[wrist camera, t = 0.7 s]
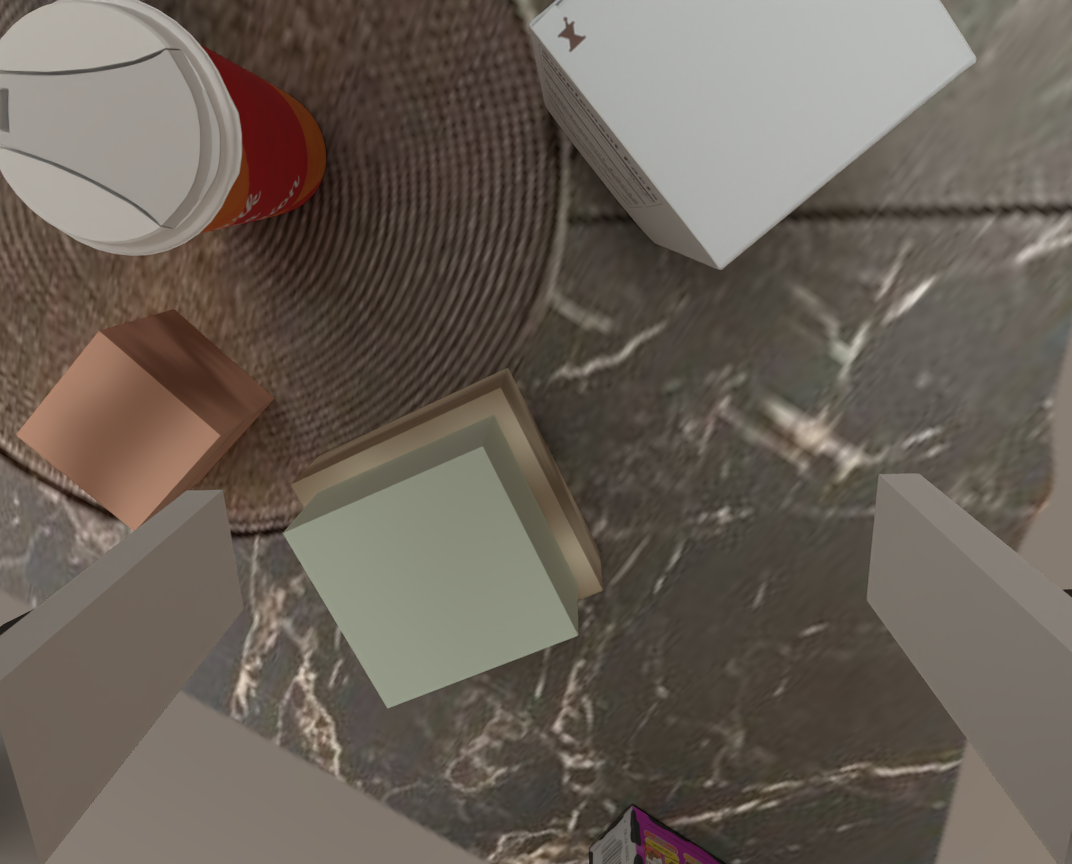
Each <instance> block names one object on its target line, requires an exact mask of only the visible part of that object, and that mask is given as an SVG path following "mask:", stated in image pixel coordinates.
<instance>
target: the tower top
mask: <svg viewBox="0 0 1072 864" xmlns="http://www.w3.org/2000/svg"><path fill="white" fill-rule="evenodd" d="M283 534H284V536H285V538H286V539H287V541H288V543H289V544H290V546H291V548H292V549H293V551H294V553H295V554H296V556H297V558H298V559H299V561H300V563H301V564H302V566H303V568H304V570H305V571H306V573H307V575H308V576H309V578H310V580H311V581H312V583H313V585H314V586H315V588H316V590H317V591H318V593H319V595H320V596H321V598H322V600H323V601H324V603H325V605H326V606H327V608H328V610H329V611H330V613H331V615H332V616H333V618H334V620H335V621H336V623H337V625H338V626H339V628H340V630H341V631H342V633H343V635H344V636H345V638H346V640H347V641H348V643H349V645H350V646H351V648H352V650H353V651H354V653H355V655H356V656H357V658H358V660H359V661H360V663H361V665H362V667H363V668H364V670H365V672H366V673H367V675H368V677H369V678H370V680H371V682H372V683H373V685H374V687H375V688H376V690H377V692H378V693H379V695H380V697H381V698H382V700H383V702H384V703H385V705H386V707H387V708H390V707H393V706H395V705H398V704H400V703H403V702H406V701H408V700H411V699H413V698H416V697H419V696H421V695H424V694H427V693H429V692H432V691H434V690H437V689H440V688H442V687H445V686H448V685H450V684H453V683H455V682H458V681H461V680H463V679H466V678H468V677H471V676H474V675H476V674H479V673H482V672H484V671H487V670H489V669H492V668H495V667H497V666H500V665H503V664H505V663H508V662H510V661H513V660H516V659H518V658H521V657H523V656H526V655H529V654H531V653H534V652H537V651H539V650H542V649H544V648H547V647H550V646H552V645H555V644H558V643H560V642H563V641H565V640H568V639H571V638H573V637H576V636H578V585H577V581H576V579H575V577H574V575H573V573H572V571H571V569H570V567H569V565H568V563H567V561H566V559H565V557H564V555H563V553H562V551H561V549H560V547H559V545H558V543H557V541H556V539H555V537H554V535H553V533H552V531H551V529H550V527H549V525H548V523H547V521H546V519H545V517H544V515H543V513H542V511H541V509H540V507H539V505H538V503H537V501H536V499H535V497H534V494H533V492H532V490H531V488H530V486H529V484H528V482H527V480H526V478H525V476H524V474H523V472H522V470H521V468H520V466H519V464H518V462H517V460H516V458H515V456H514V454H513V452H512V450H511V448H510V446H509V444H508V442H507V440H506V438H505V436H504V434H503V432H502V430H501V428H500V426H499V424H498V422H497V420H496V418H495V416H494V415H492V416H490V417H487V418H485V419H483V420H481V421H478V422H476V423H474V424H472V425H469V426H467V427H465V428H463V429H460V430H458V431H456V432H453V433H451V434H449V435H447V436H444V437H442V438H440V439H438V440H435V441H433V442H431V443H429V444H426V445H424V446H422V447H419V448H417V449H415V450H413V451H410V452H408V453H406V454H404V455H401V456H399V457H397V458H394V459H392V460H390V461H388V462H385V463H383V464H381V465H379V466H376V467H374V468H372V469H370V470H367V471H365V472H363V473H360V474H358V475H356V476H354V477H351V478H349V479H347V480H345V481H342V482H340V483H338V484H335V485H333V486H331V487H329V488H326V489H324V490H322V491H320V492H318V493H317V494H316V495H315V496H314V497H313V499H312V500H311V501H310V502H309V503H308V504H307V506H306V507H305V508H304V509H303V510H302V511H301V513H300V514H299V515H298V516H297V517H296V518H295V520H294V521H293V522H292V523H291V524H290V525H289V526H288V528H287V529H286V530H285V531H284V532H283Z"/></svg>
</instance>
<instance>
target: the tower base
mask: <svg viewBox="0 0 1072 864" xmlns="http://www.w3.org/2000/svg"><path fill="white" fill-rule="evenodd" d="M492 415H494V416H495V418H496V420H497V422H498V424H499V426H500V428H501V430H502V432H503V434H504V436H505V438H506V440H507V442H508V444H509V446H510V448H511V450H512V452H513V454H514V456H515V458H516V460H517V462H518V464H519V466H520V468H521V470H522V472H523V474H524V476H525V478H526V480H527V482H528V484H529V486H530V488H531V490H532V492H533V494H534V497H535V499H536V501H537V503H538V505H539V507H540V509H541V511H542V513H543V515H544V517H545V519H546V521H547V523H548V525H549V527H550V529H551V531H552V533H553V535H554V537H555V539H556V541H557V543H558V545H559V547H560V549H561V551H562V553H563V555H564V557H565V559H566V561H567V563H568V565H569V567H570V569H571V571H572V573H573V575H574V577H575V579H576V581H577V585H578V600H580V599H583V598H585V597H588V596H590V595H593V594H595V593H598V592H600V591H603V584H602V572H601V559H600V551H599V549H598V547H597V545H596V543H595V541H594V539H593V537H592V535H591V533H590V531H589V529H588V527H587V525H586V523H585V521H584V519H583V517H582V515H581V513H580V511H579V509H578V507H577V505H576V503H575V501H574V499H573V497H572V495H571V493H570V491H569V489H568V487H567V485H566V483H565V481H564V479H563V477H562V475H561V473H560V471H559V469H558V467H557V465H556V463H555V461H554V459H553V457H552V455H551V453H550V451H549V449H548V447H547V445H546V443H545V441H544V439H543V437H542V435H541V433H540V431H539V429H538V427H537V425H536V423H535V421H534V419H533V417H532V414H531V412H530V410H529V408H528V406H527V404H526V402H525V400H524V398H523V396H522V394H521V392H520V390H519V388H518V386H517V384H516V382H515V380H514V378H513V376H512V374H511V372H510V370H509V368H506V369H504V370H502V371H500V372H497V373H495V374H493V375H491V376H489V377H487V378H485V379H482V380H480V381H478V382H476V383H474V384H472V385H470V386H467V387H465V388H463V389H461V390H459V391H457V392H455V393H452V394H450V395H448V396H446V397H444V398H442V399H440V400H437V401H435V402H433V403H431V404H429V405H427V406H425V407H422V408H420V409H418V410H416V411H414V412H412V413H410V414H407V415H405V416H403V417H401V418H399V419H397V420H395V421H392V422H390V423H388V424H386V425H384V426H382V427H380V428H377V429H375V430H373V431H371V432H369V433H367V434H365V435H362V436H360V437H358V438H356V439H354V440H352V441H350V442H347V443H345V444H343V445H341V446H339V447H337V448H335V449H332V450H330V451H328V452H326V453H324V454H322V455H320V456H318V457H317V458H316V459H315V460H314V461H313V462H312V463H311V464H310V465H309V466H308V467H307V468H306V469H305V470H304V471H303V472H302V473H301V474H300V475H299V477H298V478H297V479H296V480H295V481H294V482H293V483H292V484H291V487H292V489H293V490H294V492H295V494H296V495H297V497H298V499H299V500H300V502H301V504H302V505H303V507H304V508H305V507H306V506H307V504H308V503H309V502H310V501H311V500H312V499H313V497H314V496H315V495H316V494H317V493H318V492H320V491H322V490H324V489H326V488H329V487H331V486H333V485H335V484H338V483H340V482H342V481H345V480H347V479H349V478H351V477H354V476H356V475H358V474H360V473H363V472H365V471H367V470H370V469H372V468H374V467H376V466H379V465H381V464H383V463H385V462H388V461H390V460H392V459H394V458H397V457H399V456H401V455H404V454H406V453H408V452H410V451H413V450H415V449H417V448H419V447H422V446H424V445H426V444H429V443H431V442H433V441H435V440H438V439H440V438H442V437H444V436H447V435H449V434H451V433H453V432H456V431H458V430H460V429H463V428H465V427H467V426H469V425H472V424H474V423H476V422H478V421H481V420H483V419H485V418H487V417H490V416H492Z"/></svg>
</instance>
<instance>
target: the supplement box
mask: <svg viewBox="0 0 1072 864" xmlns="http://www.w3.org/2000/svg"><path fill="white" fill-rule="evenodd" d="M529 32H530V36H531V41H532V46H533V50H534V56H535V61H536V65H537V69H538V74H539V79H540V84H541V89H542V94H543V99H544V104H545V106H546V108H547V109H548V111H549V112H550V114H551V115H552V116H553V118H554V119H555V120H556V122H557V123H558V125H559V126H560V127H561V129H562V130H563V131H564V133H565V134H566V135H567V137H568V138H569V139H570V141H571V142H572V143H573V144H574V146H575V147H576V148H577V150H578V151H579V152H580V154H581V155H582V156H583V157H584V159H585V160H586V161H587V163H588V164H589V165H590V166H591V168H592V169H593V170H594V171H595V173H596V174H597V175H598V177H599V178H600V179H601V180H602V182H603V183H604V184H605V185H606V187H607V188H608V189H609V191H610V192H611V193H612V194H613V196H614V197H615V198H616V199H617V201H618V202H619V203H620V204H621V205H622V207H623V208H624V209H625V210H626V212H627V213H628V214H629V215H630V216H631V218H632V219H633V220H634V221H635V222H636V224H637V225H638V226H639V227H640V228H641V229H642V230H643V232H644V233H645V234H646V235H647V236H648V237H649V238H650V239H651V240H652V241H653V242H654V243H655V244H657V245H660V246H662V247H665V248H668V249H670V250H672V251H674V252H677V253H680V254H682V255H684V256H686V257H689V258H692V259H694V260H696V261H699V262H701V263H704V264H706V265H708V266H710V267H713V268H715V269H718V270H722V269H723V268H725V267H726V266H727V265H728V264H729V263H731V262H732V261H733V260H734V259H735V258H737V257H738V256H739V255H740V254H741V253H743V252H744V251H745V250H746V249H747V248H749V247H750V246H751V245H752V244H753V243H755V242H756V241H757V240H758V239H760V238H761V237H762V236H763V235H764V234H766V233H767V232H768V231H769V230H771V229H772V228H773V227H774V226H775V225H777V224H778V223H779V222H780V221H781V220H783V219H784V218H785V217H786V216H788V215H789V214H790V213H791V212H792V211H794V210H795V209H796V208H797V207H798V206H800V205H801V204H802V203H803V202H805V201H806V200H807V199H808V198H809V197H811V196H812V195H813V194H814V193H815V192H817V191H818V190H819V189H820V188H822V187H823V186H824V185H825V184H826V183H828V182H829V181H830V180H831V179H832V178H834V177H835V176H836V175H837V174H839V173H840V172H841V171H842V170H843V169H845V168H846V167H847V166H848V165H850V164H851V163H852V162H853V161H854V160H856V159H857V158H858V157H859V156H860V155H862V154H863V153H864V152H865V151H867V150H868V149H869V148H870V147H871V146H873V145H874V144H875V143H876V142H878V141H879V140H880V139H881V138H882V137H884V136H885V135H886V134H887V133H889V132H890V131H891V130H892V129H893V128H895V127H896V126H897V125H898V124H900V123H901V122H902V121H903V120H904V119H906V118H907V117H908V116H909V115H911V114H912V113H913V112H914V111H915V110H917V109H918V108H919V107H920V106H921V105H923V104H924V103H925V102H926V101H927V100H929V99H930V98H931V97H932V96H934V95H935V94H936V93H937V92H939V91H940V90H941V89H942V88H944V87H945V86H946V85H947V84H948V83H950V82H951V81H952V80H953V79H955V78H956V77H957V76H958V75H960V74H961V73H962V72H963V71H965V70H966V69H967V68H969V67H970V66H972V65H973V64H975V62H976V60H977V58H976V56H975V55H974V53H973V51H972V50H971V48H970V47H969V45H968V43H967V42H966V40H965V38H964V37H963V35H962V34H961V32H960V31H959V29H958V28H957V26H956V25H955V23H954V21H953V20H952V18H951V17H950V15H949V14H948V12H947V10H946V9H945V7H944V6H943V4H942V3H941V1H940V0H556V1H555V2H553V3H552V4H551V5H550V6H549V7H548V8H547V9H545V10H544V11H543V12H542V13H541V14H539V15H538V16H537V17H535V18H534V19H533V20H532V21H531V22H530V23H529Z"/></svg>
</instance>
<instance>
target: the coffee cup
mask: <svg viewBox="0 0 1072 864" xmlns="http://www.w3.org/2000/svg"><path fill="white" fill-rule="evenodd" d="M325 167H326V148H325V142H324V138H323V135H322V133H321V130H320V128H319V126H318V124H317V122H316V121H315V119H314V118H313V116H312V115H311V114H310V112H309V111H308V110H307V109H306V108H305V107H304V106H303V105H302V104H301V103H300V102H298V101H297V100H296V99H294V98H293V97H292V96H290V95H289V94H287V93H285V92H284V91H282V90H281V89H279V88H277V87H276V86H274V85H272V84H270V83H269V82H267V81H265V80H263V79H262V78H260V77H258V76H256V75H254V74H253V73H251V72H249V71H247V70H246V69H244V68H242V67H240V66H238V65H237V64H235V63H233V62H231V61H229V60H227V59H226V58H224V57H222V56H220V55H218V54H216V53H215V52H213V51H211V50H209V49H207V48H206V47H204V46H202V45H200V44H199V43H198V42H197V40H196V39H195V38H194V37H193V36H192V35H191V34H190V33H189V32H188V31H187V30H185V29H184V28H183V27H182V26H181V25H180V24H179V23H178V22H176V21H175V20H173V19H172V18H170V17H169V16H167V15H166V14H164V13H163V12H161V11H160V10H158V9H156V8H154V7H152V6H150V5H147V4H145V3H143V2H141V1H139V0H58V1H56V2H54V3H52V4H49V5H45V6H42V7H40V8H38V9H36V10H34V11H32V12H30V13H28V14H26V15H25V16H24V17H23V18H21V19H20V20H19V21H17V22H16V23H15V24H14V25H13V26H12V27H11V28H10V29H9V30H8V31H7V32H6V34H5V35H4V36H3V37H2V38H1V40H0V170H1V172H2V174H3V176H4V178H5V179H6V181H7V182H8V183H9V185H10V186H11V187H12V189H13V190H14V191H15V193H16V194H17V195H18V196H19V197H20V198H21V199H22V200H23V202H24V203H25V204H26V205H27V206H28V207H29V208H30V209H31V210H32V211H34V212H35V213H36V214H37V215H39V216H40V217H41V218H42V219H44V220H45V221H46V222H48V223H50V224H51V225H53V226H54V227H56V228H58V229H59V230H61V231H62V232H64V233H66V234H67V235H69V236H71V237H72V238H74V239H76V240H77V241H79V242H81V243H84V244H86V245H88V246H90V247H93V248H95V249H98V250H102V251H106V252H109V253H113V254H121V255H130V256H136V255H151V254H156V253H160V252H164V251H168V250H171V249H173V248H175V247H178V246H180V245H182V244H184V243H186V242H188V241H189V240H191V239H192V238H194V237H195V236H197V235H198V234H201V233H205V232H209V231H214V230H218V229H223V228H227V227H232V226H236V225H240V224H244V223H249V222H253V221H257V220H261V219H265V218H269V217H273V216H277V215H280V214H284V213H287V212H289V211H292V210H294V209H296V208H298V207H300V206H301V205H303V204H304V203H306V202H307V201H308V200H309V199H310V198H311V197H312V196H313V195H314V193H315V192H316V191H317V189H318V187H319V186H320V184H321V182H322V179H323V176H324V172H325Z"/></svg>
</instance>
